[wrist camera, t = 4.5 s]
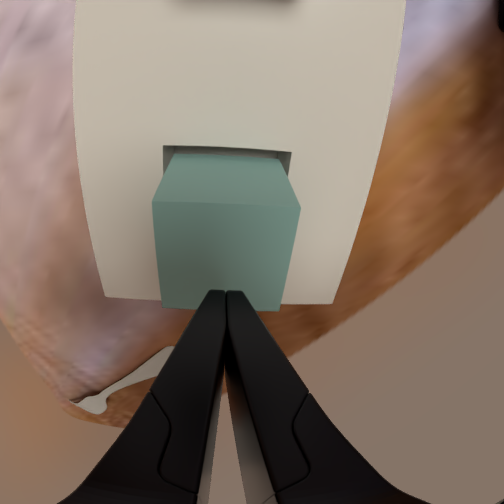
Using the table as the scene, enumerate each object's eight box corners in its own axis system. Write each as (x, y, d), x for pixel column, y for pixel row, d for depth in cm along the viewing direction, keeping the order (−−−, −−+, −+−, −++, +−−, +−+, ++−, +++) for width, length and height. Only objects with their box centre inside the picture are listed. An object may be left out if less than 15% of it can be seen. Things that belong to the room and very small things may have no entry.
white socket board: (376, -91, 6) (408, -112, 3) (317, 263, 19) (332, 303, 16) (132, -113, 5) (113, -140, 2) (121, 256, 18) (105, 297, 15)
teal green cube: (279, 159, 12) (301, 207, 8) (266, 244, 14) (279, 311, 11) (173, 153, 11) (151, 201, 8) (175, 241, 13) (162, 308, 10)
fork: (196, 334, 26) (197, 358, 24) (83, 407, 31) (80, 425, 29) (172, 317, 25) (171, 342, 23) (64, 397, 29) (60, 415, 27)
